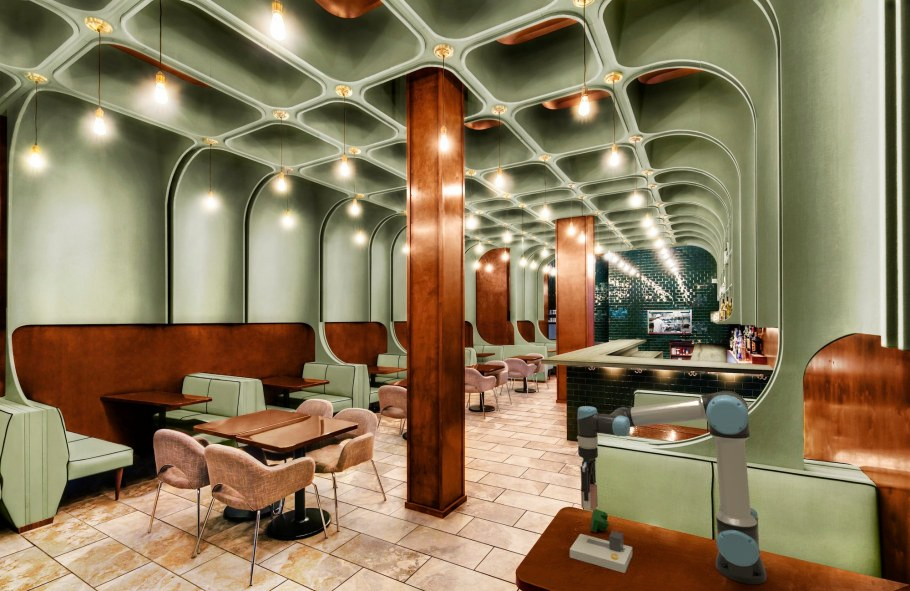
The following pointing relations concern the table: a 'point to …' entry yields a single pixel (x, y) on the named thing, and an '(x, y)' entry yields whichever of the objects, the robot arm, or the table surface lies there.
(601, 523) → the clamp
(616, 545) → the breaker toggle
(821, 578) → the table surface
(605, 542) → the block
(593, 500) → the post
